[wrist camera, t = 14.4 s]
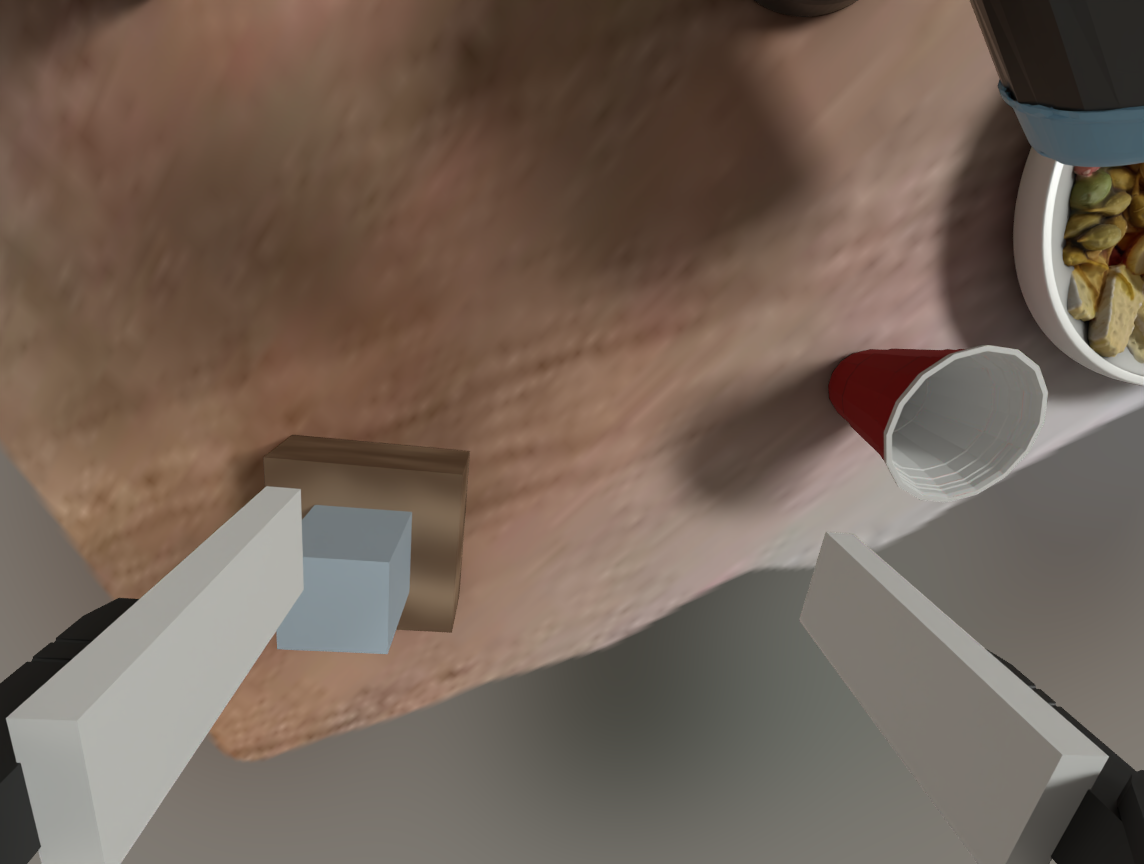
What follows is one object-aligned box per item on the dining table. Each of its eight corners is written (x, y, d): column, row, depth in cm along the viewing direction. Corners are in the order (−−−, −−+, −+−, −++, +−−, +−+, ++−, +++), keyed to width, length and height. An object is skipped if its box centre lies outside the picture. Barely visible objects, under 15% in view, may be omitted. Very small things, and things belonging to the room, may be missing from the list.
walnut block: (292, 434, 43) (263, 457, 38) (469, 451, 45) (462, 474, 40) (297, 585, 47) (271, 622, 43) (459, 595, 49) (451, 632, 44)
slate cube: (314, 504, 40) (272, 555, 33) (412, 511, 41) (389, 562, 34) (317, 586, 42) (277, 649, 35) (409, 591, 43) (387, 654, 36)
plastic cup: (819, 466, 48) (909, 533, 36) (781, 356, 44) (869, 392, 33) (936, 414, 47) (1066, 465, 36) (907, 298, 44) (1041, 314, 32)
